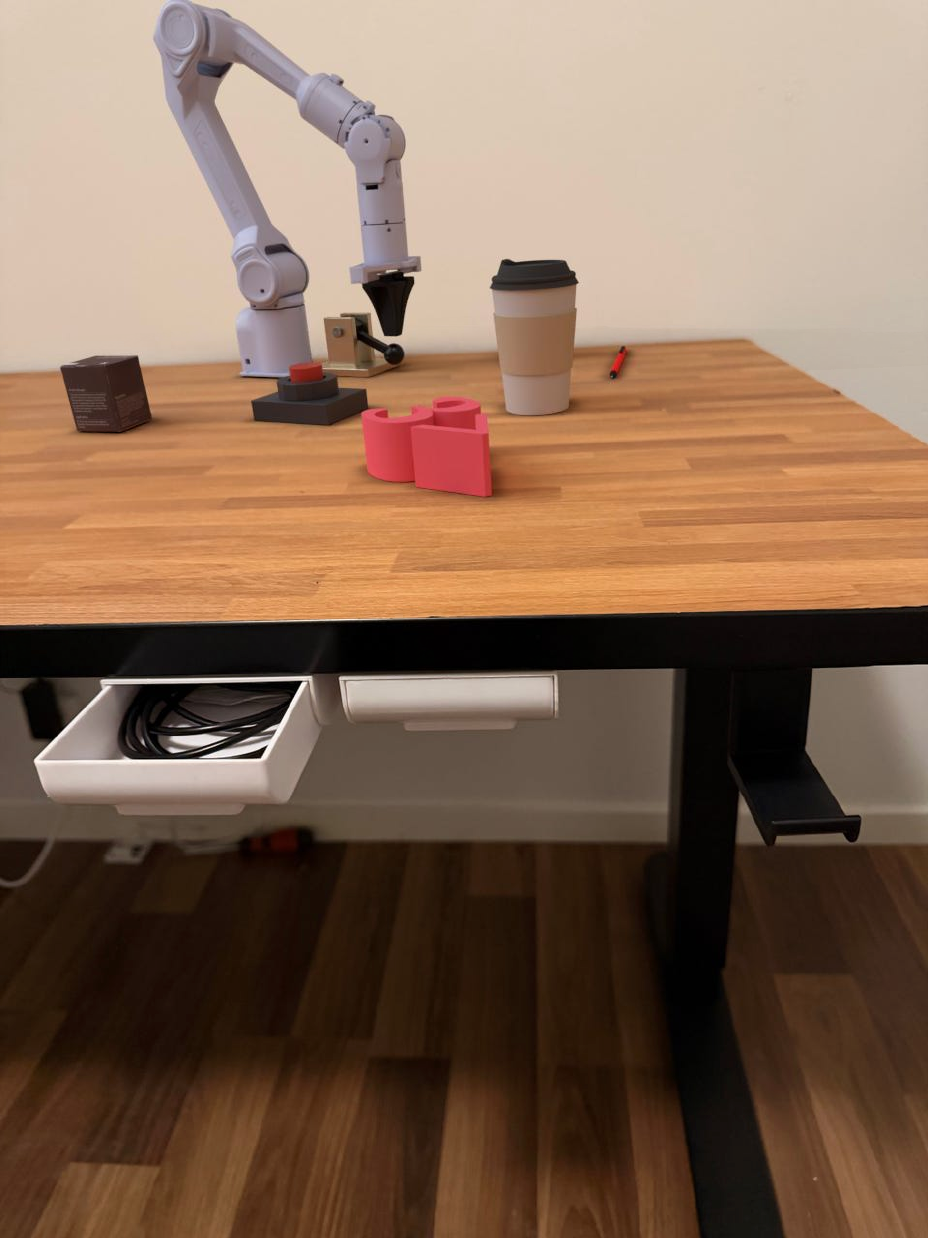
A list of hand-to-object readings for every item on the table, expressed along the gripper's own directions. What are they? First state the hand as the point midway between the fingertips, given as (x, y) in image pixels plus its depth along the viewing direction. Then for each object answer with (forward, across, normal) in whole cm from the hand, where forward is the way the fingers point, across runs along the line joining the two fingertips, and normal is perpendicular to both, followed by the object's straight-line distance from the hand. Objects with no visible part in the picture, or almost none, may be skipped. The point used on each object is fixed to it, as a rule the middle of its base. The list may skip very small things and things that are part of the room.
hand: (393, 335), depth 119 cm
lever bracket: (+5, 0, +7) cm, 8 cm away
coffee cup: (+5, -16, -27) cm, 32 cm away
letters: (+5, -41, -29) cm, 51 cm away
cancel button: (+1, -24, -3) cm, 24 cm away
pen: (+5, +9, -28) cm, 30 cm away
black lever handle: (+2, 0, +4) cm, 5 cm away
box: (+5, -34, +17) cm, 38 cm away
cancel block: (+5, -24, -3) cm, 25 cm away
